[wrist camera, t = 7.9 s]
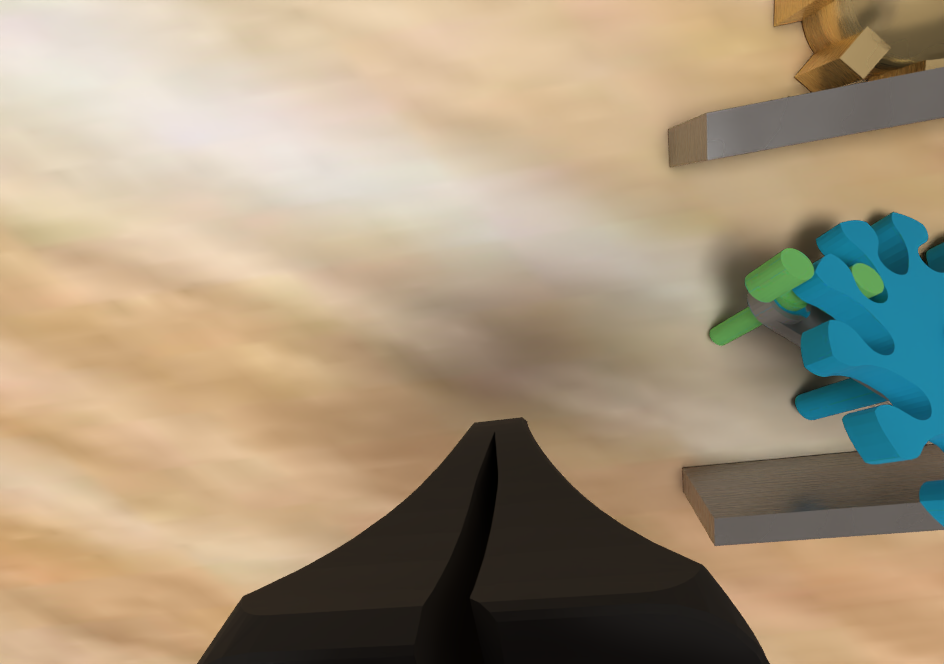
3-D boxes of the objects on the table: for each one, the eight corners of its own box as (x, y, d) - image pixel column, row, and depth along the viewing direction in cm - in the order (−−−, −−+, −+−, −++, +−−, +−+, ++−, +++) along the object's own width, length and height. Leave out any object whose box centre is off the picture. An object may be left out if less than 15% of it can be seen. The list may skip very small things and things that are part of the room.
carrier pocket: (1070, 458, 17) (1185, 512, 14) (683, 492, 19) (714, 545, 16) (1242, -241, 11) (1500, -395, 8) (658, -91, 13) (700, -173, 10)
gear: (1142, 313, 14) (1246, 664, 9) (925, 376, 19) (920, 616, 14) (825, 131, 14) (769, 371, 9) (702, 241, 19) (627, 430, 15)
